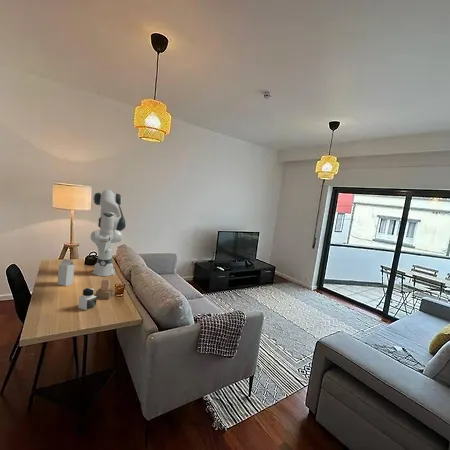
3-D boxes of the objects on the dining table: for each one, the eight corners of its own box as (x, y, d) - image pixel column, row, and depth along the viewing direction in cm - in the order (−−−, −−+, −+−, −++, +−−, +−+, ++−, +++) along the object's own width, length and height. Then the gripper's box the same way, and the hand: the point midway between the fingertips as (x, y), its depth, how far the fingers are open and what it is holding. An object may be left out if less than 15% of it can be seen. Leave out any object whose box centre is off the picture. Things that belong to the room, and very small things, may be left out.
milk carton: (65, 286, 190) (67, 261, 189) (57, 284, 192) (59, 259, 190) (73, 283, 197) (75, 259, 195) (65, 281, 198) (67, 257, 197)
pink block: (102, 288, 184) (103, 278, 183) (109, 288, 185) (110, 278, 184) (100, 290, 179) (101, 280, 178) (107, 291, 180) (108, 280, 179)
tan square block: (101, 293, 187) (102, 287, 186) (113, 295, 187) (114, 288, 186) (95, 298, 178) (96, 291, 177) (108, 300, 178) (109, 293, 177)
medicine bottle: (86, 310, 158) (88, 292, 157) (77, 307, 160) (79, 289, 159) (95, 307, 165) (97, 288, 164) (87, 304, 167) (89, 286, 166)
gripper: (104, 232, 191) (102, 250, 193) (97, 238, 172) (95, 258, 173) (113, 233, 193) (111, 251, 195) (107, 239, 173) (105, 259, 175)
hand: (104, 255), depth 184 cm, fingers open, 8 cm apart
